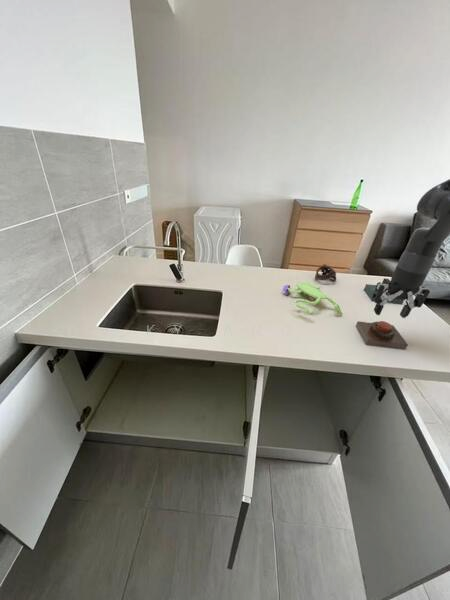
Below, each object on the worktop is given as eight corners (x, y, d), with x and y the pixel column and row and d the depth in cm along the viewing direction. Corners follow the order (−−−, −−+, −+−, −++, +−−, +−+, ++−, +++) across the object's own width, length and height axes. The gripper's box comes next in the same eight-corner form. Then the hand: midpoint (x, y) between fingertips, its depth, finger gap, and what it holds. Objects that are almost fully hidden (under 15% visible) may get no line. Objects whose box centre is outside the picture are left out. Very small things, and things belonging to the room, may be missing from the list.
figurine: (298, 322, 87) (301, 309, 84) (276, 286, 109) (278, 275, 106) (346, 320, 89) (351, 308, 86) (315, 286, 111) (318, 275, 108)
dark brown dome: (339, 286, 114) (337, 273, 108) (318, 291, 117) (315, 279, 112) (332, 269, 122) (330, 257, 117) (313, 275, 125) (310, 263, 120)
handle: (379, 287, 107) (384, 277, 104) (384, 287, 106) (388, 278, 104) (385, 293, 102) (389, 283, 99) (389, 294, 102) (394, 284, 99)
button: (386, 326, 81) (388, 321, 80) (392, 333, 78) (394, 329, 77) (374, 324, 81) (376, 320, 81) (379, 332, 78) (381, 327, 77)
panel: (391, 292, 109) (394, 286, 108) (402, 304, 101) (405, 297, 99) (363, 289, 111) (366, 283, 109) (372, 301, 102) (374, 294, 100)
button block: (390, 330, 85) (395, 321, 83) (405, 349, 77) (410, 340, 75) (355, 326, 86) (359, 317, 84) (365, 345, 78) (370, 335, 76)
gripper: (432, 264, 71) (407, 311, 79) (380, 259, 72) (361, 306, 81) (449, 275, 64) (419, 324, 73) (392, 269, 66) (370, 319, 74)
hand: (389, 315), depth 77 cm, fingers open, 7 cm apart
